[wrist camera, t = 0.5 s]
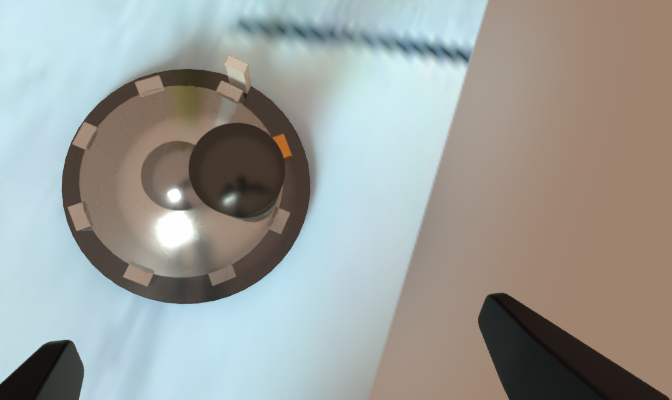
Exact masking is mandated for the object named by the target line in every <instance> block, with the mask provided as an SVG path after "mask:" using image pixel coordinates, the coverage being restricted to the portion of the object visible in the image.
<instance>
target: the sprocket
mask: <svg viewBox="0 0 672 400" xmlns="http://www.w3.org/2000/svg"><path fill="white" fill-rule="evenodd" d="M135 84H136V87H137V90H138V92H139V95H137V96H135V97H133V98H131V99H129V100H127V101H126V102H124V103H123V104H121V105H119V106H118V107H117V108H116V109H115V110H113V111H112V112H111V113H110V114H109V115H108V116H107V117H106V118H105V119H104V120H103V121H102V122H101V123H100V125H99V126H98V128H97V127H95V126H93V125H90V124H88V123H86V122H84V123H83V125H82V127H81V129H80V130H79V132H78V134H77V136H76V138H75V140H74V141H73V143H72V144H73V145H76V146H78V147H80V148H83V149H85V153H84V155H83V158H82V163H81V168H80V181H79V186H80V196H81V201H82V202H81V203H78V204H75V205H73V206H70V207H68V210H69V212H70V215H71V218H72V220H73V223H74V226H75V228H76V231H92V230H93V231H94V232H95V234H96V235H97V237H98V238H99V239H100V240H101V242H102V243H103V244H104V245H105V246H106V247H107V248H108V249H109V250H110V251H111V252H112V253H113V254H115V255H116V256H117V257H119V258H120V259H122V260H123V261H124V262H126V263H128V264H129V266H128V268H127V270H126V272H125V274H124V276H123V277H124V278H127V279H129V280H132V281H135V282H137V283H140V284H142V285H145V286H149V285H151V284H154V283H156V281H157V279H158V277H159V275H160V276H167V277H194V276H201V275H206V274H208V275H209V278H210V280H211V283H212V285H213V286H214V285H217V284H219V283H222V282H224V281H227V280H229V279H231V278H234V277H236V276H237V275H238V271H237V268H236V265H235V262H237V261H238V260H240V259H241V258H243V257H244V256H245V255H247V254H248V253H249V252H250V251H251V250H252V249H253V248H254V247H255V246H257V245H258V244H259V242H260V241H261V240H262V239H263V237H264V236H265V235H266V233H267V232H268V230H269V229H270V230H272V231H274V232H277V233H279V234H281V233H282V230H283V228H284V226H285V224H286V221H287V219H288V217H289V215H290V213H289V212H287V211H285V210H283V209H280V208H279V205H280V202H281V197H282V190H283V182H284V178H285V162H287V161H289V160H290V159H291V156H292V154H291V152H290V149H289V146H288V144H287V141H286V139H285V136H284V134H282V135H279V136H276V137H273V138H272V137H271V135H270V133H269V132H268V130H267V129H266V127H265V126H264V125H263V123H262V122H261V121H260V120H259V119H258V118H257V117H256V116H255V115H254V114H253V113H252V112H251V111H250V110H249V109H247V108H246V107H245V106H244V105H243V103H244V101H245V98H244V92H243V90H241V89H239V88H236V87H234V86H232V85H230V84H228V83H226V82H224V81H222V80H221V82H220V84H219V86H218V88H217V90H216V91H214V90H210V89H207V88H201V87H196V86H168V87H167V86H166V84H165V83H164V82H163V80H162V79H161V77H160V76H159V75H158V76H155V77H151V78H148V79H144V80H141V81H137V82H135Z"/></svg>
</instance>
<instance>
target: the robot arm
mask: <svg viewBox="0 0 672 400" xmlns="http://www.w3.org/2000/svg"><path fill="white" fill-rule="evenodd" d="M478 323H479V328H480V330H481V333H482V335H483V338H484V340H485V343H486V345H487V348H488V350H489V353H490V356H491V358H492V361H493V363H494V366H495V368H496V371H497V373H498V376H499V378H500V381H501V383H502V385H503V387H504V390H505V391H506V394H507V396H508V398H509V400H670V399H669V398H668V397H667V396H666V395H664V394H663V393H661V392H659V391H658V390H656V389H655V388H653V387H652V386H650V385H648V384H647V383H645V382H644V381H642V380H641V379H639V378H637V377H636V376H634V375H633V374H631V373H630V372H628V371H627V370H625V369H624V368H622V367H620V366H619V365H617V364H616V363H614V362H613V361H611V360H609V359H608V358H606V357H605V356H603V355H602V354H600V353H598V352H597V351H595V350H594V349H592V348H590V347H589V346H588V345H586V344H584V343H583V342H581V341H580V340H578V339H577V338H575V337H573V336H572V335H570V334H569V333H567V332H566V331H564V330H562V329H561V328H559V327H558V326H556V325H555V324H553V323H552V322H550V321H548V320H547V319H545V318H544V317H542V316H541V315H539V314H537V313H536V312H534V311H533V310H531V309H530V308H528V307H526V306H525V305H523V304H522V303H520V302H519V301H517V300H516V299H514V298H512V297H511V296H509V295H507V294H505V293H495V294H489V295H488V296H487V297H486V299H485V301H484V304H483V306H482V309H481V311H480V314H479V317H478ZM83 377H84V366H83V363H82V361H81V359H80V356H79V354H78V352H77V349H76V347H75V345H74V343H73V342H72V341H71V340H60V341H51V342H48V343H46V344H44V345H42V346H41V347H40V348H39V349H38V350H37V351H36V352H35V353H34V354H32V355H31V356H30V357H29V358H28V359H27V360H26V361H25V362H24V363H23V364H22V365H21V366H19V367H18V368H17V369H16V370H15V371H14V372H13V373H12V374H11V375H10V376H9V377H7V378H6V379H5V380H4V381H3V382H2V383H1V384H0V400H79V396H80V392H81V387H82V382H83Z"/></svg>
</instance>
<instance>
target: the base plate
mask: <svg viewBox="0 0 672 400" xmlns="http://www.w3.org/2000/svg"><path fill="white" fill-rule="evenodd" d="M225 67H226V71H227V75H228V76H226V75H223V74H220V73H215V72H210V71H205V70H192V69H182V70H169V71H164V72H158V73H154V74H151V75H147V76H144V77H141V78H139V79H136V80H134V81H132V82H130V83H128V84H125V85H124V86H122V87H121V88H119V89H117V90H116V91H114V92H113V93H111V94H110V95H109V96H107V97H106V98H105V99H104V100H103V101H101V102H100V103H99V104H98V105H97V106H96V107H95V108H94V109H93V110H92V111H91V112H90V114H89V115H88V116H87V117H86V119H85V120H84V121H83V123H84V122H86V123H88V124H90V125H93V126H95V127H97V128H98V126H99V125H100V123H101V122H102V121H103V120H104V119H105V118H106V117H107V116H108V115H109V114H110V113H111V112H112V111H113V110H115V109H116V108H117V107H118V106H119V105H121V104H123V103H124V102H126V101H127V100H129V99H131V98H133V97H135V96H137V95H139V92H138V90H137V87H136V84H135V82H137V81H141V80H144V79H148V78H151V77H155V76H158V75H159V76H160V77H161V79H162V80H163V82H164V83H165V84H166V86H167V87H168V86H196V87H201V88H207V89H210V90H214V91H216V90H217V88H218V86H219V84H220V82H221V80H222V81H224V82H226V83H228V84H230V85H232V86H234V87H236V88H239V89H241V90H243V92H244V98H245V101H244V103H243V105H244V106H245V107H246V108H247V109H249V110H250V111H251V112H252V113H253V114H254V115H255V116H256V117H257V118H258V119H259V120H260V121H261V122H262V123H263V125H264V126H265V127H266V129H267V130H268V132H269V133H270V135H271V137H272V138H273V137H276V136H279V135H282V134H284V136H285V139H286V141H287V144H288V146H289V149H290V152H291V154H292V156H291V159H290V160H289V161H287V162H285V178H284V182H283V190H282V197H281V202H280V205H279V208H280V209H283V210H285V211H287V212H289V213H290V215H289V217H288V219H287V221H286V224H285V226H284V228H283V230H282V233H281V234H279V233H277V232H274V231H272V230H270V229H269V230H268V232H267V233H266V235H265V236H264V237H263V239H262V240H261V241H260V242H259V244H258V245H257V246H255V247H254V248H253V249H252V250H251V251H250V252H249V253H248V254H247V255H245V256H244V257H243V258H241V259H240V260H238V261H237V262H235V265H236V268H237V271H238V275H237V276H236V277H234V278H231V279H229V280H227V281H224V282H222V283H219V284H217V285H214V286H213V285H212V283H211V280H210V278H209V275H208V274H206V275H201V276H194V277H167V276H160V275H159V277H158V279H157V281H156V283H154V284H151V285H149V286H145V285H142V284H140V283H137V282H135V281H132V280H129V279H127V278H124V277H123V276H124V274H125V272H126V270H127V268H128V266H129V264H128V263H126V262H124V261H123V260H122V259H120V258H119V257H117V256H116V255H115V254H113V253H112V252H111V251H110V250H109V249H108V248H107V247H106V246H105V245H104V244H103V243H102V242H101V240H100V239H99V238H98V237H97V235H96V234H95V232H94V231H93V230H92V231H76V228H75V226H74V223H73V220H72V218H71V215H70V212H69V210H68V207H70V206H73V205H75V204H78V203H81V202H82V201H81V196H80V186H79V181H80V168H81V163H82V158H83V155H84V153H85V149H83V148H80V147H78V146H76V145H73V144H72V143H73V141H74V140H75V138H76V136H77V134H78V132H79V130H80V129H81V127H82V125H83V123H82V124H81V126H80V127H79V129H78V130H77V132H76V134H75V136H74V138H73V140H72V142H71V145H70V147H69V150H68V153H67V156H66V159H65V164H64V169H63V176H62V197H63V207H64V211H65V215H66V219H67V222H68V225H69V227H70V230H71V232H72V235H73V237H74V239H75V241H76V242H77V244H78V246H79V247H80V249H81V251H82V252H83V253H84V255H85V256H86V257H87V258H88V260H89V261H90V262H91V263H92V264H93V265H94V266H95V267H96V268H97V269H98V270H99V271H100V272H101V273H102V274H103V275H104V276H106V277H107V278H108V279H110V280H111V281H113V282H114V283H115V284H117V285H118V286H120V287H122V288H124V289H126V290H128V291H130V292H132V293H134V294H137V295H140V296H142V297H145V298H148V299H152V300H156V301H161V302H166V303H177V304H193V303H203V302H209V301H215V300H218V299H222V298H225V297H228V296H231V295H233V294H236V293H238V292H240V291H243V290H245V289H246V288H248V287H250V286H251V285H253V284H255V283H256V282H258V281H259V280H261V279H262V278H263V277H265V276H266V275H267V274H268V273H270V272H271V271H272V270H273V269H274V268H275V267H276V266H277V265H278V264H279V263H280V262H281V261H282V259H283V258H284V257H285V256H286V254H287V253H288V252H289V250H290V249H291V247H292V246H293V244H294V242H295V240H296V239H297V237H298V235H299V233H300V230H301V228H302V225H303V223H304V220H305V216H306V213H307V209H308V203H309V195H310V176H309V169H308V163H307V159H306V155H305V151H304V149H303V146H302V144H301V141H300V139H299V136H298V135H297V133H296V131H295V129H294V128H293V126H292V124H291V123H290V121H289V120H288V119H287V118H286V116H285V115H284V114H283V112H282V111H281V110H280V109H279V108H278V107H277V106H276V105H275V104H274V103H273V102H272V101H271V100H270V99H268V98H267V97H266V96H265V95H263V94H262V93H261V92H259V91H258V90H256V89H254V88H253V87H251V85H250V76H249V68H248V64H246V63H244V62H242V61H240V60H238V59H236V58H234V57H232V56H230V55H229V56H228V58H227V60H226V62H225Z"/></svg>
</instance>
